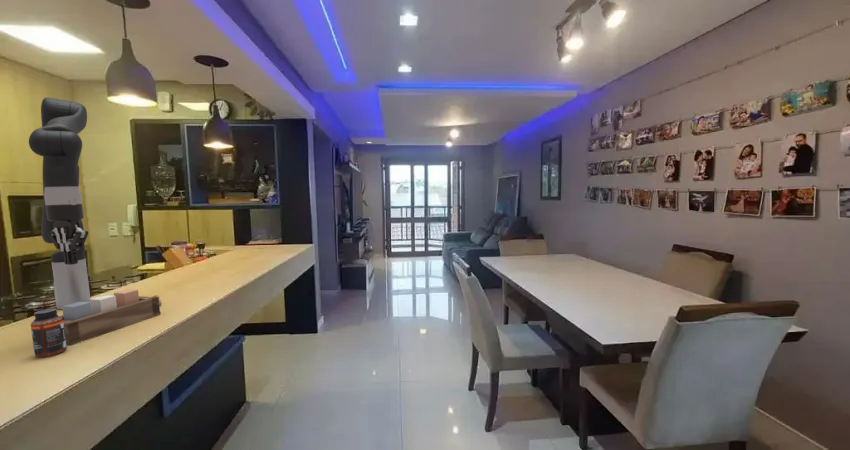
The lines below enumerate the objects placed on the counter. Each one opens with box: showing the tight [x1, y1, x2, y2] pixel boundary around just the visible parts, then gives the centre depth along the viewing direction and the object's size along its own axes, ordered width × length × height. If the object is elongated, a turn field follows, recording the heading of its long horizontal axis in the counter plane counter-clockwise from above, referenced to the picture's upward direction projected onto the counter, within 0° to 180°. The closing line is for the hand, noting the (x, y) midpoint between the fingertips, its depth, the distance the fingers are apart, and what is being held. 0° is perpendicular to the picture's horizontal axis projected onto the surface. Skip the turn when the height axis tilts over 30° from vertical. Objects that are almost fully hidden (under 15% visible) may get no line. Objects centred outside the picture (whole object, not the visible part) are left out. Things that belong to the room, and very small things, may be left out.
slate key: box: [62, 302, 92, 321], centre depth 110 cm, size 4×4×5 cm
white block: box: [90, 295, 117, 315], centre depth 117 cm, size 4×4×5 cm
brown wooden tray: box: [60, 295, 161, 346], centre depth 118 cm, size 12×26×6 cm, turn 164°
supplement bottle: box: [30, 308, 68, 358], centre depth 98 cm, size 6×6×11 cm
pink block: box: [113, 289, 140, 307], centre depth 124 cm, size 4×4×5 cm
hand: (71, 264), depth 109 cm, fingers closed
